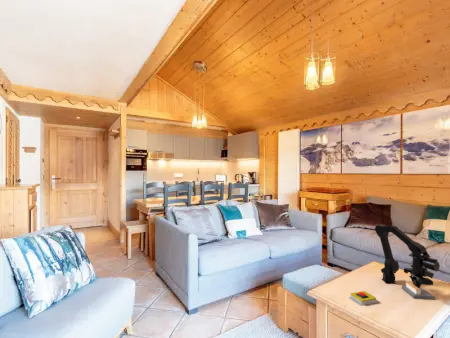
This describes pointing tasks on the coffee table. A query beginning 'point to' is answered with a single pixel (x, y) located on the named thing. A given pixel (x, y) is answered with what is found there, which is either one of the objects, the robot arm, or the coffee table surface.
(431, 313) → the coffee table surface
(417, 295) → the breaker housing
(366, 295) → the emergency button
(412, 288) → the knob
